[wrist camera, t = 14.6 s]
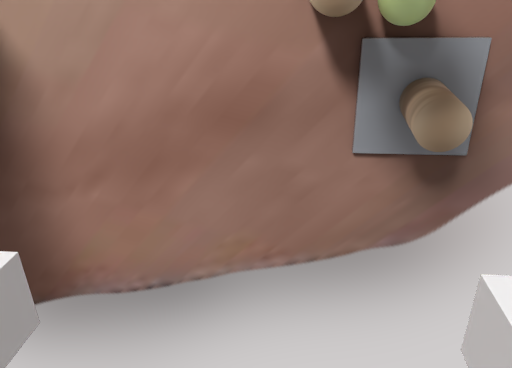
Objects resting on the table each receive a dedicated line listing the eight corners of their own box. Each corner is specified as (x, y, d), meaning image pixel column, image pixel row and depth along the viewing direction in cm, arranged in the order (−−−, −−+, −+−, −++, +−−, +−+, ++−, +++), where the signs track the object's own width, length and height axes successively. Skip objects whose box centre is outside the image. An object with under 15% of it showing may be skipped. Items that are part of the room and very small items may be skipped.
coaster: (352, 150, 43) (352, 152, 43) (362, 37, 38) (362, 38, 38) (464, 153, 42) (466, 155, 42) (488, 36, 37) (491, 37, 37)
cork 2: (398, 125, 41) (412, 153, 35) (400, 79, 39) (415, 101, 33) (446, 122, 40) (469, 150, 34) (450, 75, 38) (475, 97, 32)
